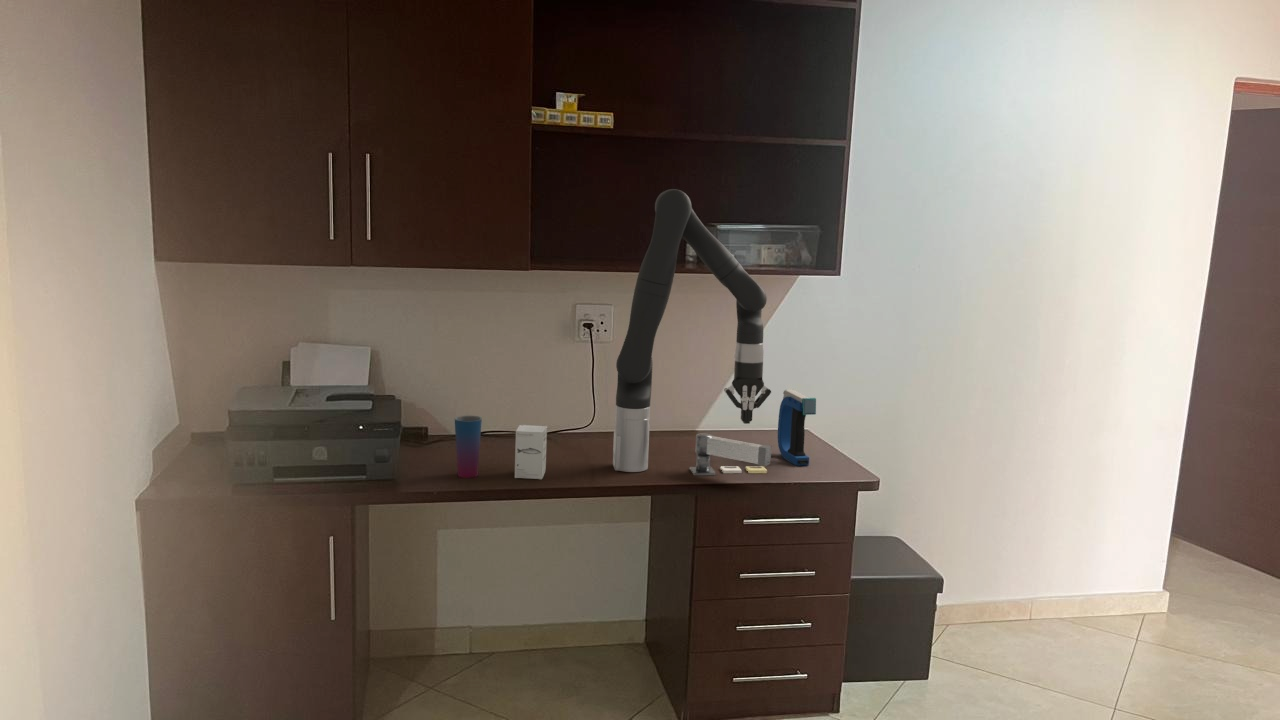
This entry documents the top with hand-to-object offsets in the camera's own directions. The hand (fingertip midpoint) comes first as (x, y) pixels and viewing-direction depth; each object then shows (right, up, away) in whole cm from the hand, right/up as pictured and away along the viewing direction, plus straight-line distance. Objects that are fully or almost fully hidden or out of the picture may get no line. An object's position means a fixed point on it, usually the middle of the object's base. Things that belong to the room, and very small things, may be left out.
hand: (746, 422), depth 251 cm
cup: (-73, -13, -11) cm, 75 cm away
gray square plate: (-12, -13, 0) cm, 18 cm away
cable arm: (-5, -9, -5) cm, 11 cm away
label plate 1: (-4, -13, +2) cm, 14 cm away
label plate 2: (+3, -13, +3) cm, 14 cm away
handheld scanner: (+15, -12, +15) cm, 25 cm away
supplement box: (-57, -13, -9) cm, 59 cm away
